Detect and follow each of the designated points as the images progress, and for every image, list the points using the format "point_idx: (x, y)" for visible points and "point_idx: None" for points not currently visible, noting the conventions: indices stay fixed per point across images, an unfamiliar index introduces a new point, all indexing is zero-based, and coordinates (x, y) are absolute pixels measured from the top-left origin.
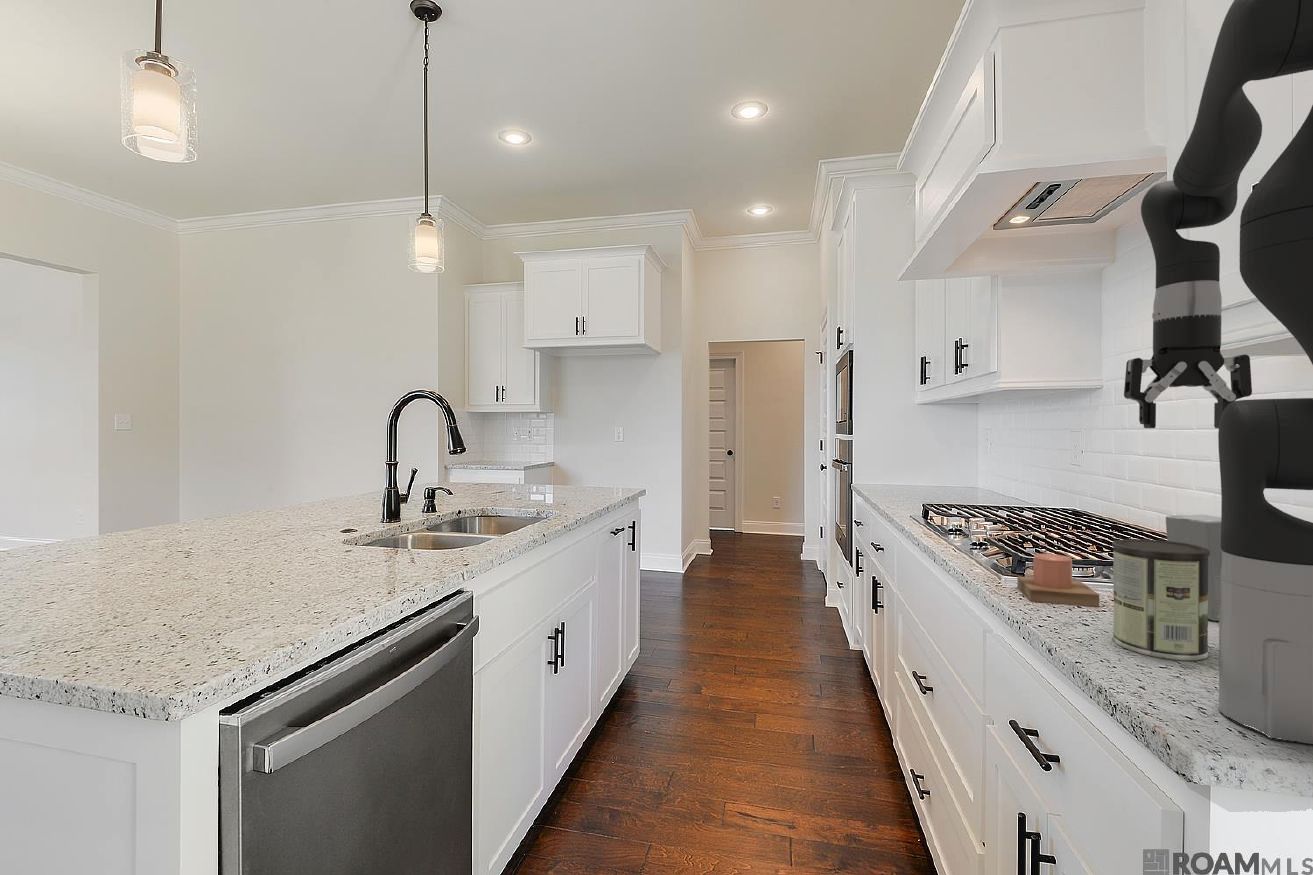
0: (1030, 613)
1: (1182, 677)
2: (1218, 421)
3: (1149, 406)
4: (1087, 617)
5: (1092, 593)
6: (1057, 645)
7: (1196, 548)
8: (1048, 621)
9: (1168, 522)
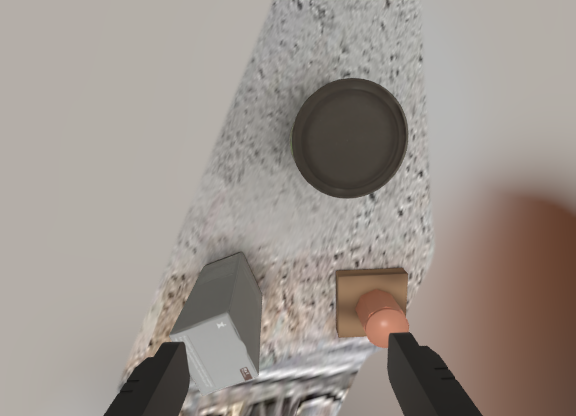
0: (416, 219)
1: (340, 49)
2: (177, 381)
3: (455, 407)
4: (361, 224)
5: (343, 281)
6: (424, 108)
7: (302, 144)
8: (406, 194)
9: (257, 364)
